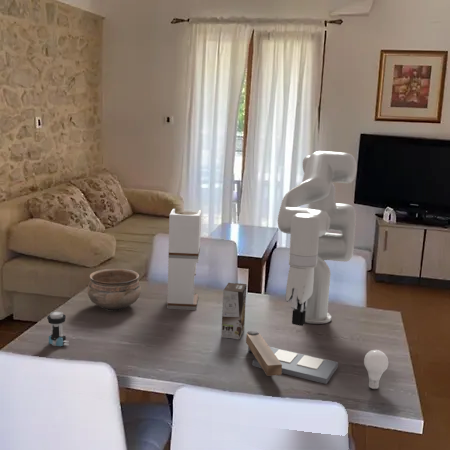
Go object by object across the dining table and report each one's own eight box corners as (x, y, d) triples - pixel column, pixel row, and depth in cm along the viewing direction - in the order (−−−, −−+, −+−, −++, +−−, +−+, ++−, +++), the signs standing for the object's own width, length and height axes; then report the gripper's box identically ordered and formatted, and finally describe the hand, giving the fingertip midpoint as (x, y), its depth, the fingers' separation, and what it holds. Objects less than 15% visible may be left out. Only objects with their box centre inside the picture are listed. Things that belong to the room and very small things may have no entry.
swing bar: (257, 339, 178) (257, 330, 178) (281, 374, 156) (281, 364, 155) (244, 340, 177) (245, 331, 177) (267, 375, 155) (267, 365, 154)
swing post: (249, 349, 178) (250, 341, 178) (256, 350, 177) (257, 342, 177) (246, 352, 176) (247, 343, 176) (254, 353, 175) (254, 345, 175)
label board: (267, 350, 178) (267, 345, 177) (337, 367, 169) (338, 361, 168) (252, 365, 167) (252, 359, 167) (326, 383, 158) (326, 377, 158)
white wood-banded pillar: (196, 309, 210) (199, 215, 203) (167, 308, 210) (169, 214, 203) (198, 299, 221) (201, 210, 214) (170, 298, 222) (172, 208, 214)
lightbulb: (358, 382, 159) (362, 345, 157) (380, 382, 160) (384, 345, 158) (365, 394, 153) (369, 355, 151) (388, 394, 154) (393, 355, 151)
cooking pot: (110, 293, 223) (110, 263, 221) (153, 301, 217) (154, 270, 214) (71, 314, 201) (71, 280, 198) (118, 323, 194) (118, 289, 191)
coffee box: (240, 339, 185) (242, 292, 182) (220, 337, 186) (222, 289, 183) (244, 329, 194) (247, 283, 191) (226, 327, 195) (228, 281, 192)
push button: (73, 343, 177) (72, 312, 175) (63, 350, 172) (62, 318, 170) (54, 339, 179) (54, 309, 177) (44, 346, 174) (43, 315, 172)
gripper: (298, 251, 162) (294, 313, 166) (279, 263, 149) (275, 330, 153) (324, 255, 159) (319, 318, 163) (307, 268, 146) (302, 336, 150)
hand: (298, 323), depth 158 cm, fingers closed
